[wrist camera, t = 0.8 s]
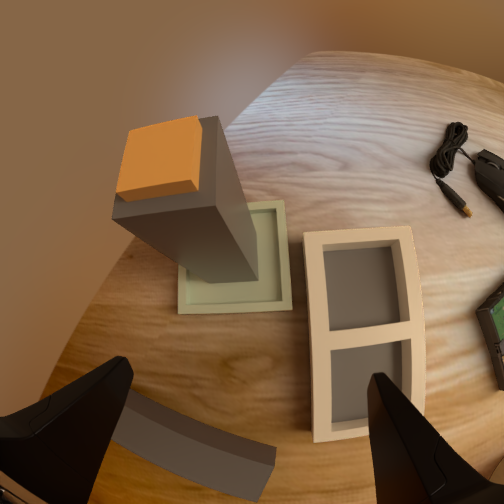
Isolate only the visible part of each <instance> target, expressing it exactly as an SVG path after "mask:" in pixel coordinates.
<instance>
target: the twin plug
mask: <svg viewBox="0 0 504 504" xmlns="http://www.w3.org/2000/svg"><path fill="white" fill-rule="evenodd" d="M111 439H112V440H113V441H115V442H116V443H118V444H120V445H121V446H123V447H125V448H126V449H128V450H130V451H132V452H133V453H135V454H137V455H139V456H140V457H142V458H144V459H146V460H148V461H150V462H152V463H154V464H156V465H158V466H160V467H162V468H164V469H166V470H168V471H170V472H172V473H175V474H177V475H179V476H181V477H184V478H186V479H188V480H191V481H193V482H196V483H198V484H201V485H203V486H206V487H209V488H212V489H214V490H217V491H220V492H223V493H226V494H229V495H233V496H236V497H239V498H243V499H246V500H250V501H253V502H257V501H258V499H259V497H260V495H261V493H262V491H263V489H264V487H265V485H266V483H267V481H268V479H269V477H270V475H271V473H272V471H273V469H274V466H275V457H276V448H277V447H273V446H270V445H266V444H263V443H259V442H256V441H252V440H249V439H246V438H243V437H240V436H237V435H234V434H231V433H228V432H225V431H222V430H220V429H217V428H214V427H212V426H209V425H206V424H204V423H201V422H199V421H197V420H194V419H192V418H189V417H187V416H185V415H182V414H180V413H178V412H176V411H174V410H171V409H169V408H167V407H165V406H163V405H161V404H159V403H157V402H155V401H153V400H151V399H149V398H147V397H145V396H143V395H141V394H139V393H137V392H136V391H134V390H132V389H129V393H128V396H127V399H126V403H125V406H124V408H123V411H122V413H121V416H120V418H119V421H118V423H117V425H116V428H115V430H114V433H113V435H112V438H111Z"/></svg>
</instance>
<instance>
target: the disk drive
mask: <svg viewBox="0 0 504 504" xmlns="http://www.w3.org/2000/svg"><path fill="white" fill-rule="evenodd" d="M476 315H477V317H478V320H479V323H480V325H481V328H482V331H483V334H484V337H485V340H486V343H487V346H488V349H489V352H490V355H491V359H492V362H493V366H494V370H495V373H496V377H497V381H498V386H499V390H503V391H504V282H503V283H502V285H501V286H500V287H499V288H498V289H497V290H496V291H495V292H494V293H493V294H491V295H490V296H489V297H488V298H487V299H486V301H485V302H484V303H483V304H482V305H481V306H480V307H479V308H478V309H477V310H476Z"/></svg>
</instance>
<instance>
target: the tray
mask: <svg viewBox="0 0 504 504" xmlns="http://www.w3.org/2000/svg"><path fill="white" fill-rule="evenodd" d="M247 205H248V208H249V211H250V215H251V218H252V221H253V224H254V227H255V230H256V233H257V254H258V275H259V281H249V282H232V283H213V284H210V283H208V282H206V281H205V280H203V279H202V278H200V277H198V276H197V275H195V274H194V273H192V272H190V271H189V270H187V269H186V268H184V267H183V266H181V265H179V264H178V314H181V315H211V314H242V313H263V312H280V311H292V294H291V279H290V265H289V252H288V239H287V227H286V216H285V205H284V200H275V201H263V202H251V203H247Z"/></svg>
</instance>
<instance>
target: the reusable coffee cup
mask: <svg viewBox="0 0 504 504" xmlns="http://www.w3.org/2000/svg"><path fill="white" fill-rule="evenodd" d="M489 481H491V482H494V483H497V484H503V485H504V458H503V459H502V460H501V462H500V463H499V464H498V466H497V467H496V469H495V471H494V472H493V474H492V476H491V478H490V480H489Z"/></svg>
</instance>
